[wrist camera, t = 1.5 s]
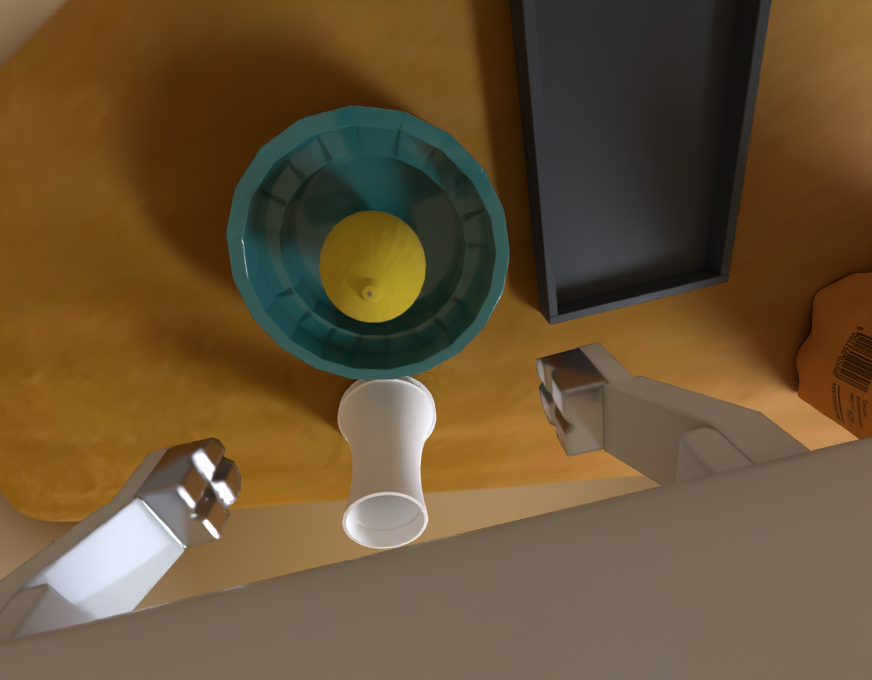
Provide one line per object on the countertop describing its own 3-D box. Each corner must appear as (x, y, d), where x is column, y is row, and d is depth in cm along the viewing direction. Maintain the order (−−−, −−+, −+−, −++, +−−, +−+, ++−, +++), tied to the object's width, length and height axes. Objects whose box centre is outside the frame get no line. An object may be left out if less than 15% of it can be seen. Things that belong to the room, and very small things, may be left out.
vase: (359, 456, 33) (348, 575, 24) (323, 387, 30) (294, 497, 21) (445, 432, 33) (464, 543, 24) (419, 359, 29) (430, 459, 20)
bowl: (209, 147, 22) (168, 151, 18) (469, 80, 21) (486, 69, 17) (308, 365, 29) (295, 403, 25) (504, 317, 28) (522, 348, 24)
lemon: (314, 219, 23) (280, 259, 16) (401, 185, 23) (405, 210, 16) (354, 299, 26) (340, 363, 19) (433, 270, 26) (448, 324, 19)
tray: (505, -37, 19) (517, -53, 17) (754, -102, 19) (791, -125, 17) (540, 312, 28) (550, 325, 27) (707, 272, 28) (728, 282, 26)
